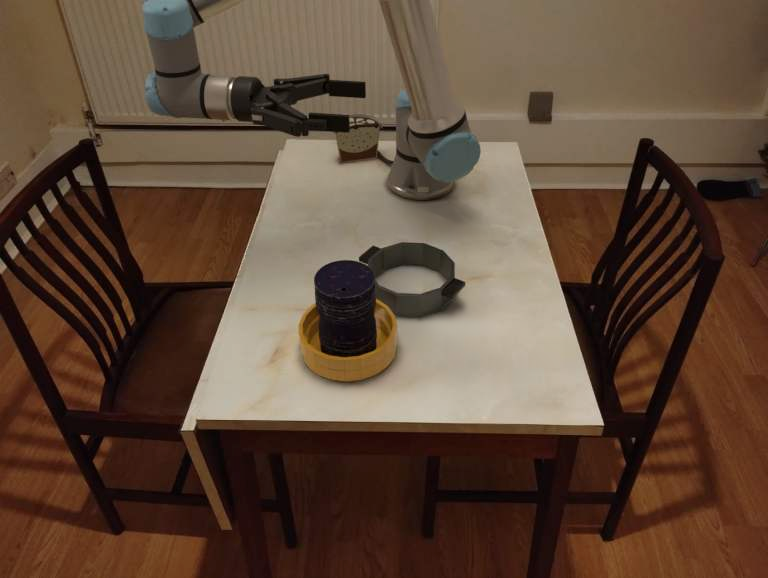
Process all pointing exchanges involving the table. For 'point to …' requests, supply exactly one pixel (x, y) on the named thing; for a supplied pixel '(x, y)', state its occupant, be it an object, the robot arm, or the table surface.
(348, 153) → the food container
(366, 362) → the bowl
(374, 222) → the table surface
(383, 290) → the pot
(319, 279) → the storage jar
